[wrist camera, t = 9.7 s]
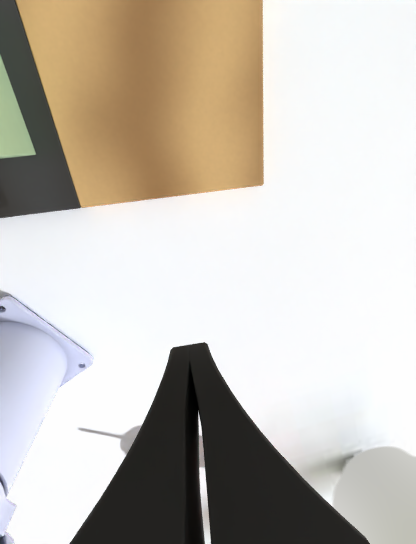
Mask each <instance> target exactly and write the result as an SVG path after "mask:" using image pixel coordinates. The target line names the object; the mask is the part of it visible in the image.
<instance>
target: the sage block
mask: <svg viewBox="0 0 416 544" xmlns="http://www.w3.org/2000/svg"><path fill="white" fill-rule="evenodd" d="M30 155H36V153H35V150H34V147H33V144H32V142H31V139H30V136H29V133H28V130H27V128H26V125H25V122H24V119H23V116H22V114H21V111H20V108H19V105H18V103H17V100H16V97H15V94H14V91H13V89H12V86H11V83H10V80H9V78H8V75H7V72H6V69H5V66H4V64H3V61H2V58H1V55H0V159H3V158H12V157H21V156H30Z"/></svg>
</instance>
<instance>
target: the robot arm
mask: <svg viewBox="0 0 416 544" xmlns="http://www.w3.org/2000/svg"><path fill="white" fill-rule="evenodd" d="M0 306H3V307H4V308H5V309H3V308H1V307H0V544H14V540H13V539H12V537H11V536H10V534H9V533H7V532H5V531H6V529H7V527H8V525H9V522H10V520H11V518H12V515H13V513H14V511H15V509H16V505H15V504H14V503H12V502H10V501H9V500H8V499H7V498H6V497H7V495H8V493H9V491H10V489H11V487H12V485H13V482H14V480H15V478H16V476H17V474H18V472H19V470H20V468H21V466H22V464H23V462H24V459H25V457H26V455H27V453H28V451H29V449H30V447H31V445H32V443H33V441H34V439H35V437H36V434H37V432H38V430H39V428H40V426H41V424H42V422H43V420H44V418H45V416H46V414H47V411H48V409H49V407H50V405H51V403H52V401H53V399H54V397H55V395H56V393H57V391H58V389H59V387H61V386H62V385H64V384H65V383H66V382H68V381H69V380H71V379H72V378H74V377H75V376H77V375H78V374H79V373H81V372H82V371H84V370H85V369H87V368H88V367H89V366H91V365H92V364H93V361H94V358H93V357H92V356H91V355H90V354H89V353H87V352H86V351H85V350H83V349H82V348H80V347H79V346H78V345H76V344H75V343H74V342H72V341H71V340H70V339H68V338H67V337H66V336H64V335H63V334H61V333H60V332H59V331H57V330H56V329H55V328H53V327H52V326H51V325H49V324H48V323H47V322H45V321H44V320H43V319H41V318H40V317H38V316H37V315H36V314H34V313H33V312H32V311H30V310H29V309H28V308H26V307H25V306H24V305H22V304H21V303H19V302H18V301H17V300H15V299H14V298H12V297H9V296H5V297H3V298H1V299H0ZM81 363H83V364H81ZM198 411H199V416H200V421H201V426H202V437H203V448H204V460H205V472H206V484H207V496H208V509H209V521H210V534H211V544H370V543H369V542H368V540H367V539H366V538H365V537H364V536H363V535H362V534H361V533H360V532H359V531H358V530H357V529H356V528H355V527H354V526H352V525H351V524H350V523H349V522H348V521H347V520H346V519H345V518H344V517H343V516H341V515H340V514H339V513H338V512H337V511H336V510H335V509H334V508H333V507H332V506H331V505H330V504H329V503H328V502H327V501H326V500H325V499H323V498H322V497H321V496H320V495H319V494H318V493H317V492H316V491H315V490H314V489H313V488H312V487H311V486H310V485H309V484H308V483H307V482H306V481H305V480H304V479H303V478H302V477H301V476H300V474H299V473H298V472H297V471H296V470H295V469H294V468H293V467H292V466H291V465H290V464H289V463H288V462H287V460H286V459H285V458H284V457H283V456H282V455H281V454H280V453H279V452H278V451H277V450H276V449H275V448H274V446H273V445H272V444H271V443H270V442H269V440H268V439H267V438H266V437H265V436H264V435H263V433H262V432H261V431H260V430H259V428H258V427H257V426H256V425H255V423H254V422H253V421H252V420H251V418H250V417H249V416H248V414H247V413H246V412H245V410H244V409H243V408H242V406H241V405H240V403H239V402H238V400H237V399H236V398H235V396H234V395H233V393H232V392H231V390H230V388H229V387H228V385H227V384H226V382H225V380H224V379H223V377H222V375H221V373H220V372H219V370H218V368H217V366H216V364H215V362H214V360H213V358H212V356H211V353H210V351H209V348H208V344H206V343H205V342H204V343H198V344H192V345H185V346H179V347H173V348H172V349H171V351H170V355H169V359H168V363H167V366H166V369H165V372H164V375H163V378H162V381H161V383H160V386H159V388H158V391H157V393H156V396H155V398H154V401H153V403H152V405H151V407H150V410H149V412H148V414H147V416H146V418H145V420H144V423H143V425H142V427H141V429H140V431H139V433H138V435H137V437H136V438H135V440H134V442H133V444H132V446H131V448H130V450H129V451H128V453H127V455H126V457H125V459H124V460H123V462H122V464H121V465H120V467H119V469H118V470H117V472H116V474H115V475H114V477H113V479H112V481H111V482H110V484H109V485H108V487H107V489H106V490H105V492H104V493H103V495H102V496H101V498H100V500H99V501H98V503H97V504H96V505H95V507H94V508H93V510H92V511H91V513H90V514H89V516H88V517H87V519H86V520H85V522H84V523H83V525H82V526H81V528H80V529H79V531H78V532H77V534H76V535H75V537H74V538H73V540H72V541H71V542H70V544H205V541H204V530H203V519H202V508H201V497H200V480H199V425H198Z"/></svg>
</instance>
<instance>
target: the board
mask: <svg viewBox="0 0 416 544" xmlns="http://www.w3.org/2000/svg"><path fill="white" fill-rule="evenodd" d="M0 55H1V58H2V61H3V64H4V66H5V69H6V72H7V75H8V78H9V80H10V83H11V86H12V89H13V91H14V94H15V97H16V100H17V103H18V105H19V108H20V111H21V114H22V116H23V119H24V122H25V125H26V128H27V130H28V133H29V136H30V139H31V142H32V144H33V147H34V150H35V153H36V155H30V156H21V157H12V158H3V159H0V218H5V217H13V216H21V215H29V214H37V213H45V212H53V211H61V210H69V209H77V208H81V207H82V208H84V207H93V206H101V205H109V204H117V203H125V202H133V201H141V200H149V199H157V198H165V197H173V196H181V195H189V194H197V193H205V192H213V191H221V190H229V189H237V188H245V187H253V186H261V185H263V184H264V180H263V0H0Z"/></svg>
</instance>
